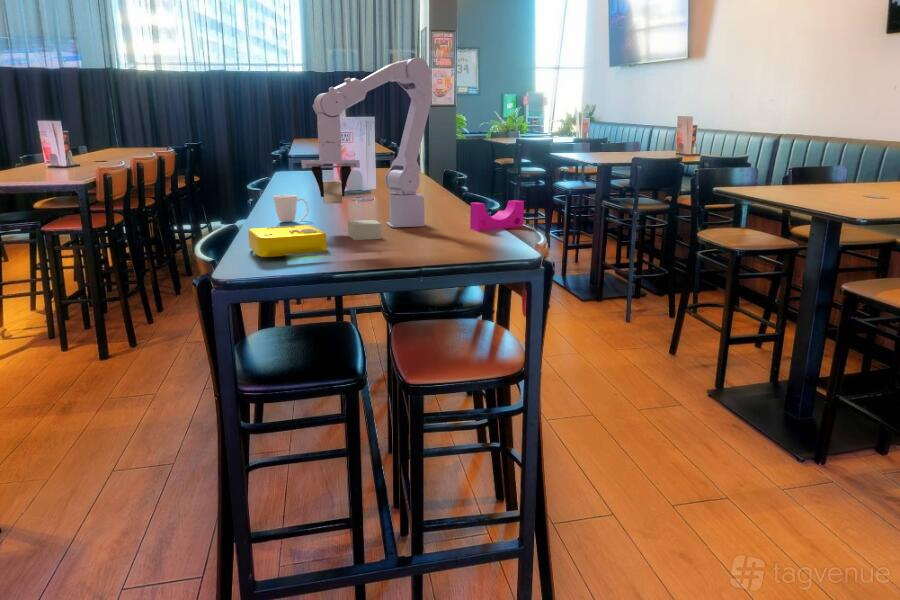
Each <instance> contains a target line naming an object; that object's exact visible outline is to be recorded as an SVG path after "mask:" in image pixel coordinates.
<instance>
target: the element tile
mask: <svg viewBox="0 0 900 600" xmlns="http://www.w3.org/2000/svg"><path fill="white" fill-rule="evenodd" d="M327 242H328V241H327V233H326V232H325V231H323V230H320V229H318V228H317V227H315V226H313V225H310V224H304V225H285V226H284V225H282V226H280V225H279V226H270V227H269V226H268V227H258V228H256V227H255V228H249V230H248V245H249V249H251V250H252V252H254V253H255V254H256V255H257V256H258V257H261V258H275V257H276V258H277V257H286V256H287V255H294V254H308V253H320V252H326V251H328V249H327V248H328V246H327V245H328V244H327Z"/></svg>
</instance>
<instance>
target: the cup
mask: <svg viewBox="0 0 900 600" xmlns="http://www.w3.org/2000/svg"><path fill="white" fill-rule="evenodd" d="M299 201H302V202H304V205H305V206H306V212H305V214H304V215H303V216H302V217H301V218H300V219H299V220H298V221H299V222H302V221H303V220H304V219H305V218H306V217H307V216H308V214H309V210H310V209H309V205H308V202H307V201H306V200H305V199H304V198H301V197H300V198H298V194H278V195H277V194H276V195H273V202H274V207H275V210H276V214H277V218H278V221H279V222H295V221H296V215H297V206H298V205H297V204H298V202H299Z"/></svg>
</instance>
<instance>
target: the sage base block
mask: <svg viewBox="0 0 900 600" xmlns="http://www.w3.org/2000/svg"><path fill="white" fill-rule="evenodd" d="M382 231H383V230H382V223H381V222H379V221H377V220H376V219H366V220H365V219H364V220H348V221H347V234H348V237H349V238H351V239H352V241H359V240H360V241H361V240H362V241H363V240H377V239H378V240H379V239H382V238H383V235H382Z"/></svg>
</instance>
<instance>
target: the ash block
mask: <svg viewBox="0 0 900 600" xmlns="http://www.w3.org/2000/svg"><path fill="white" fill-rule="evenodd" d="M323 190H324V197H322V200H323V203H324V204H326V205H327V204H343V197H342V182H341V181H340V179H337V180H334V179H333V180H323Z"/></svg>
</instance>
